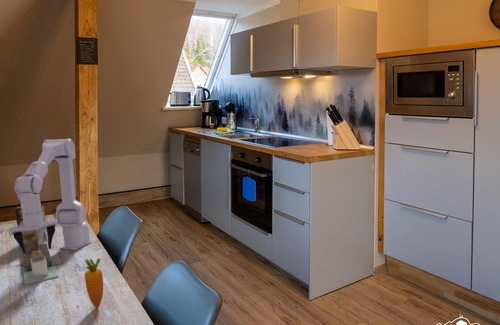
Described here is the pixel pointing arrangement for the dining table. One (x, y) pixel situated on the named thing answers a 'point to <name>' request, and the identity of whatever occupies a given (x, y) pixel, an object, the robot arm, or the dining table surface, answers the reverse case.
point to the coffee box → (28, 235)
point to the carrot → (94, 282)
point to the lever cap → (39, 266)
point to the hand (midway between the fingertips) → (37, 250)
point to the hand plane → (36, 253)
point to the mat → (29, 277)
